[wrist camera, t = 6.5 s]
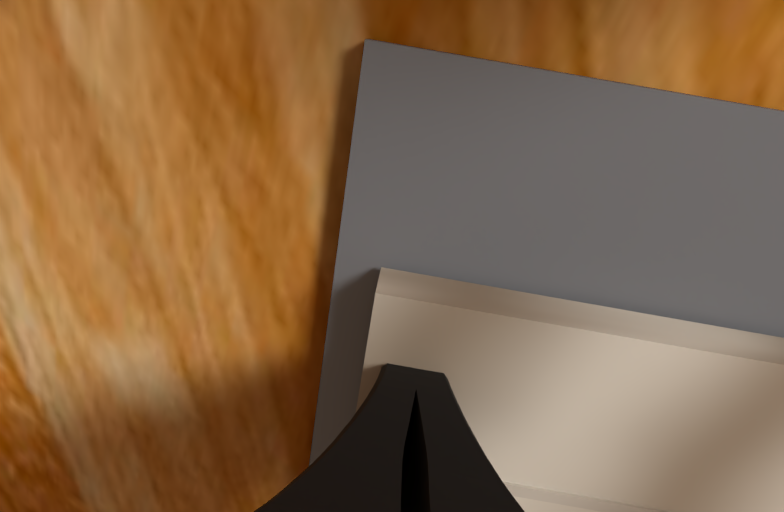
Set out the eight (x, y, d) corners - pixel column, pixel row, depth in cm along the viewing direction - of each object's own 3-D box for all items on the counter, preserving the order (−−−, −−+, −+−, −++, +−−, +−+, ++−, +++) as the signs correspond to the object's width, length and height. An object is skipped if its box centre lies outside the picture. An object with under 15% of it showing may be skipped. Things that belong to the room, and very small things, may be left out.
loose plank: (1129, 398, 12) (1205, 440, 11) (913, 647, 15) (952, 699, 14) (381, 267, 12) (374, 294, 11) (335, 543, 15) (326, 587, 14)
